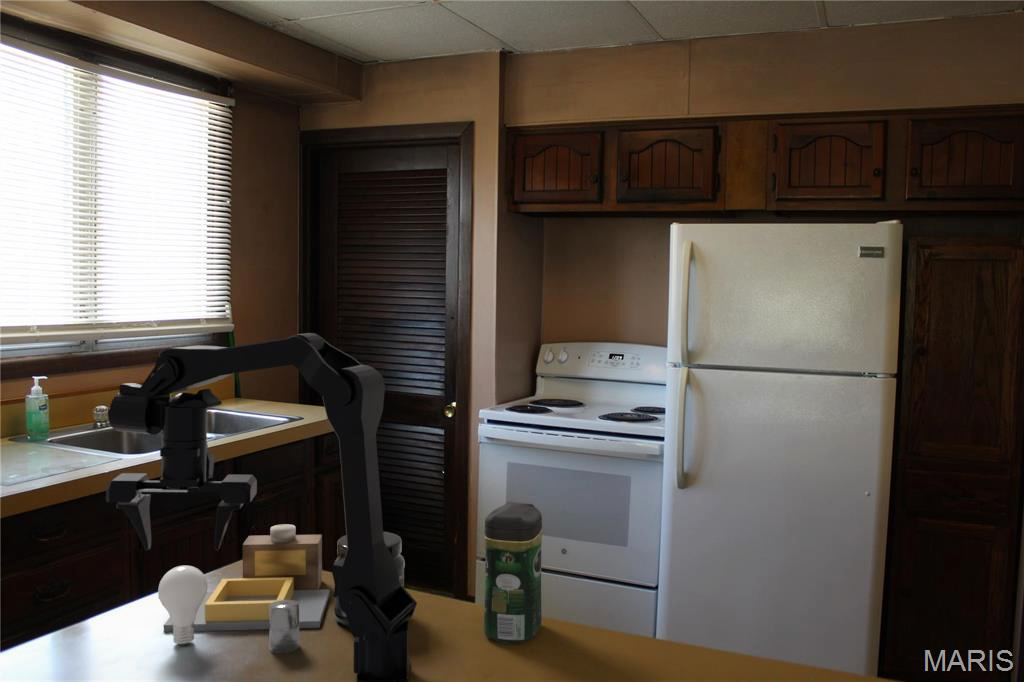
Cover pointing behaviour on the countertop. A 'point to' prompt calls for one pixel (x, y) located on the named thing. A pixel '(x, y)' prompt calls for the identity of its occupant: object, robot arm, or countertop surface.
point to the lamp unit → (284, 557)
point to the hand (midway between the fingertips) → (182, 549)
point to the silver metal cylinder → (283, 626)
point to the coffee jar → (513, 573)
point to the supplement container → (394, 547)
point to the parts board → (255, 604)
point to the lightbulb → (183, 599)
